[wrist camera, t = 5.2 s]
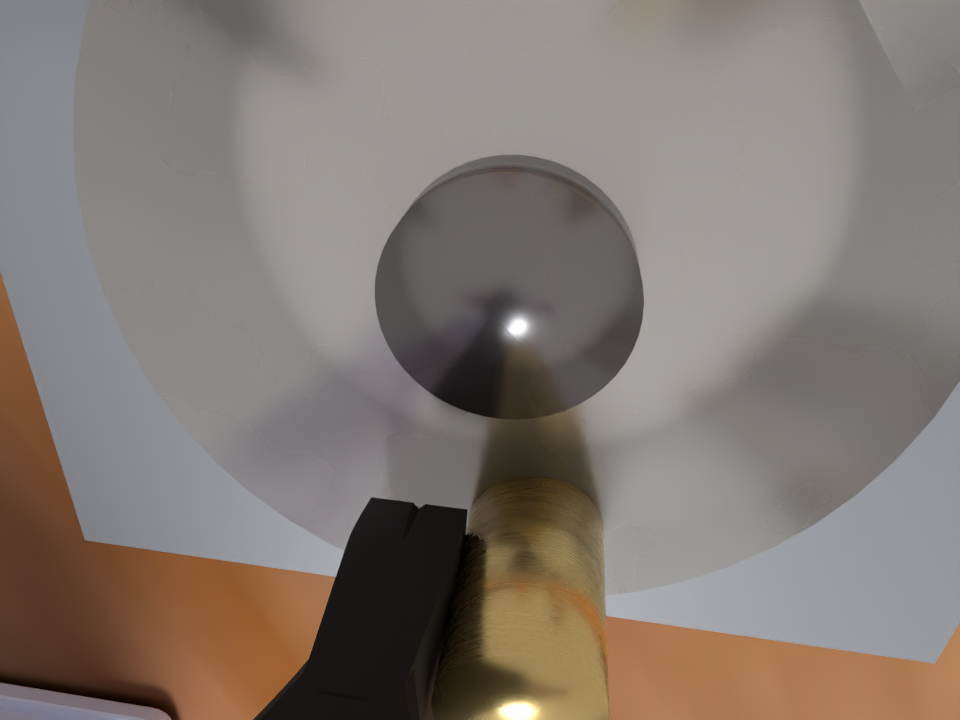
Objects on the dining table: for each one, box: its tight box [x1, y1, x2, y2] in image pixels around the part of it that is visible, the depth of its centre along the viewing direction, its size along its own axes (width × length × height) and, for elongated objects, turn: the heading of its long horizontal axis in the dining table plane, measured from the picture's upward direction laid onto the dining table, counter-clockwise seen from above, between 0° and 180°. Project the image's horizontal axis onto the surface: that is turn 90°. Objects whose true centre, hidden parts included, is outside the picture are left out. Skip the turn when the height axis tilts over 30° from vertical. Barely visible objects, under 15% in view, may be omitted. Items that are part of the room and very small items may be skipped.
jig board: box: [0, 0, 960, 663], centre depth 8 cm, size 14×16×5 cm
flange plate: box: [73, 0, 960, 720], centre depth 7 cm, size 11×13×4 cm
